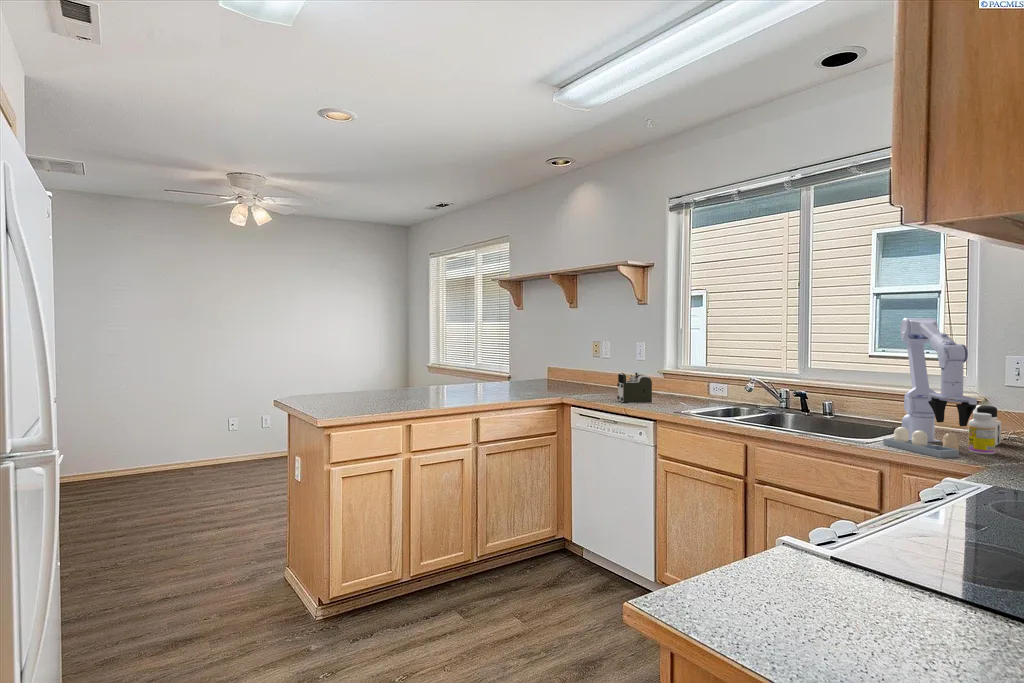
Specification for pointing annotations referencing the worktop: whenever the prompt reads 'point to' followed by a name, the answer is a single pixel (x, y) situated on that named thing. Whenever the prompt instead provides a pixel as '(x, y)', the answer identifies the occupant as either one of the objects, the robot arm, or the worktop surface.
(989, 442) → the supplement bottle
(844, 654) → the worktop surface
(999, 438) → the container
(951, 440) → the egg
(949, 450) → the grey compartment tray
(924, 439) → the cream egg
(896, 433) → the cream egg
